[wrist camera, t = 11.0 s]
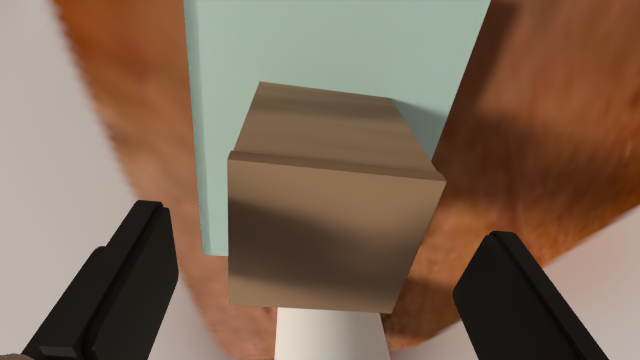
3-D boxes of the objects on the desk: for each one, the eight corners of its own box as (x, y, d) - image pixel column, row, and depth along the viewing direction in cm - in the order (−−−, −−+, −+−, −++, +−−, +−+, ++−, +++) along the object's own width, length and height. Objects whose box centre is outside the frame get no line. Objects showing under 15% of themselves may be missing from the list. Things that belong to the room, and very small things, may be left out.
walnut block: (258, 80, 15) (226, 159, 9) (391, 97, 15) (447, 181, 9) (253, 192, 18) (228, 304, 12) (363, 202, 19) (391, 313, 13)
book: (215, 217, 23) (202, 254, 20) (203, -62, 15) (178, -68, 12) (381, 230, 24) (391, 267, 22) (460, -19, 16) (496, -14, 13)
